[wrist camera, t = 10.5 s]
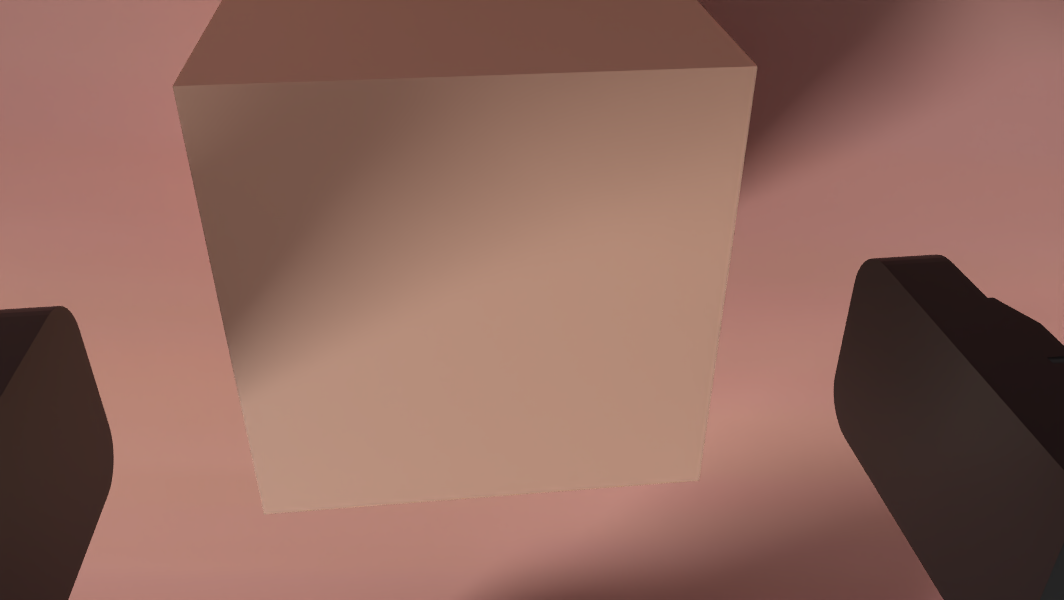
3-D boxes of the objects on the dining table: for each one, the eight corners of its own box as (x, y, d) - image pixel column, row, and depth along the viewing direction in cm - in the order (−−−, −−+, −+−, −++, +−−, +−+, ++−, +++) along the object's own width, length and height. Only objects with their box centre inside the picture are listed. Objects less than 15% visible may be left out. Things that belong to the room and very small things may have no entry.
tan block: (253, -54, 12) (173, 86, 8) (640, -62, 12) (757, 66, 8) (303, 279, 15) (263, 514, 11) (618, 262, 15) (699, 480, 11)
